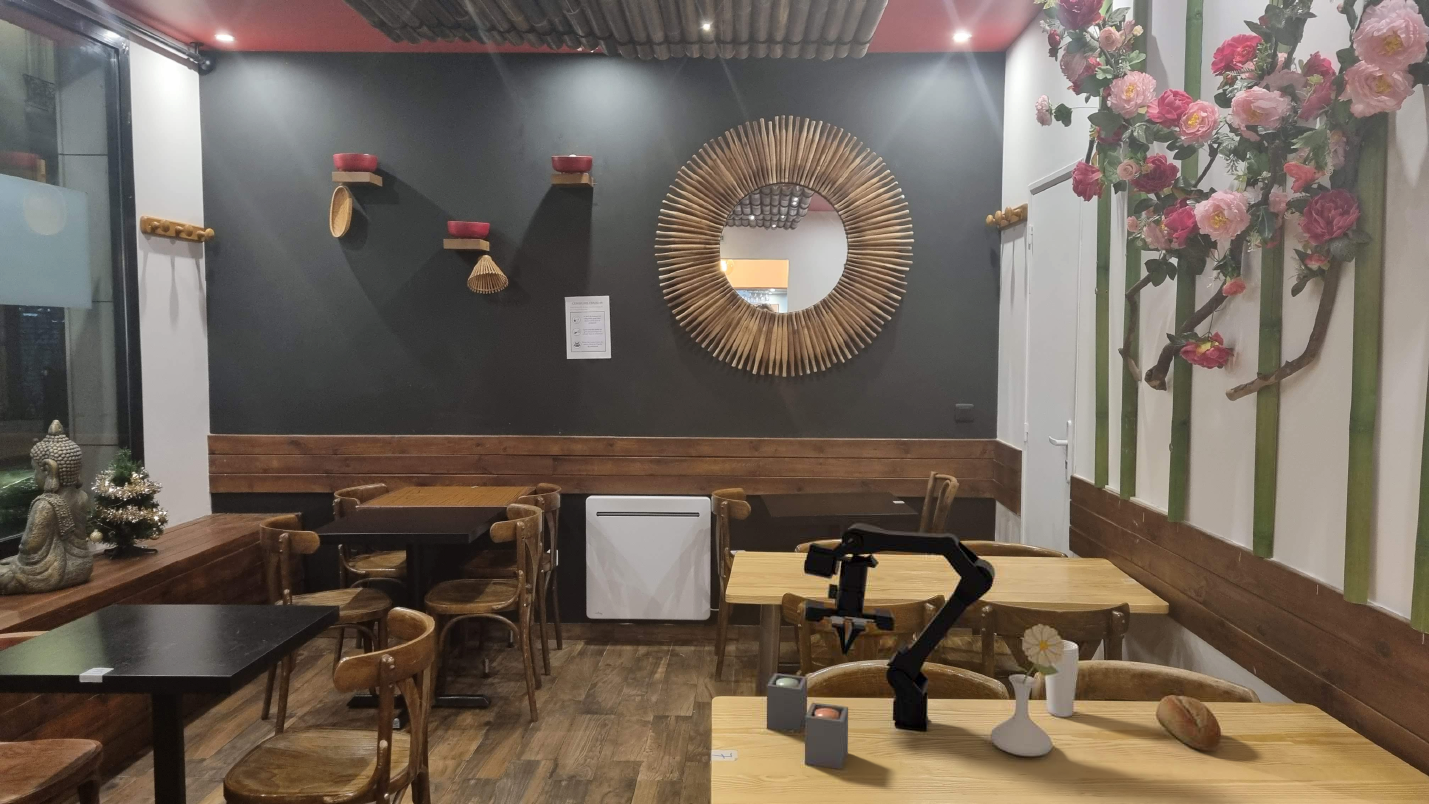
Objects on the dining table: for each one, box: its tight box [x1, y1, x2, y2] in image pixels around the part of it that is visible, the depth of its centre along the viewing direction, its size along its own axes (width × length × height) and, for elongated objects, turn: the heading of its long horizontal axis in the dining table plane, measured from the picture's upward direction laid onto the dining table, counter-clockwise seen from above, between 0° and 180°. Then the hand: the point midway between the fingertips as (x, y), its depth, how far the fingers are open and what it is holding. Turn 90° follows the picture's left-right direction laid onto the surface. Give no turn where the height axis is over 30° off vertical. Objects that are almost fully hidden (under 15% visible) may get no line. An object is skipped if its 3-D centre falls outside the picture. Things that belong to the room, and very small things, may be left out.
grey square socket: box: [766, 672, 808, 733], centre depth 174 cm, size 7×7×9 cm
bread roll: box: [1155, 694, 1222, 752], centre depth 168 cm, size 10×15×8 cm, turn 3°
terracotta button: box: [815, 708, 839, 720], centre depth 158 cm, size 5×5×2 cm
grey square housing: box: [804, 702, 849, 771], centre depth 159 cm, size 7×7×9 cm
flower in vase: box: [989, 623, 1064, 757], centre depth 162 cm, size 13×11×25 cm
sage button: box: [776, 678, 798, 688], centre depth 173 cm, size 5×5×2 cm
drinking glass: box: [1044, 639, 1079, 718], centre depth 179 cm, size 7×7×15 cm
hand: (844, 654), depth 179 cm, fingers closed
